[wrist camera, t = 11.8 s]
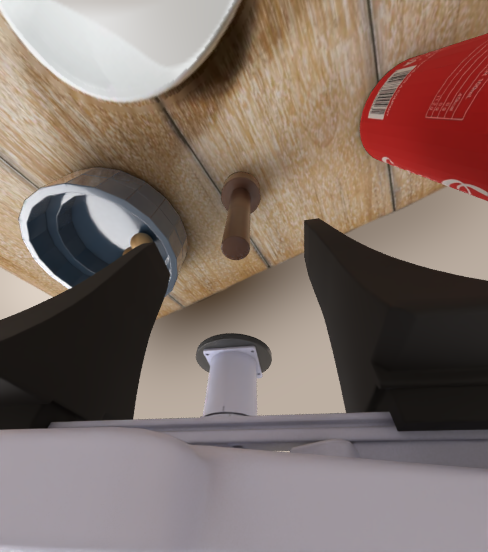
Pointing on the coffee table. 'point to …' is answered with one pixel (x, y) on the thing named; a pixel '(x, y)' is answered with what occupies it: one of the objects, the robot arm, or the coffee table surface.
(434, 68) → the beverage can
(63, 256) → the bowl
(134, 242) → the bead
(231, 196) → the muddler
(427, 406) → the robot arm
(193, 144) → the coffee table surface
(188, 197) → the coffee table surface
